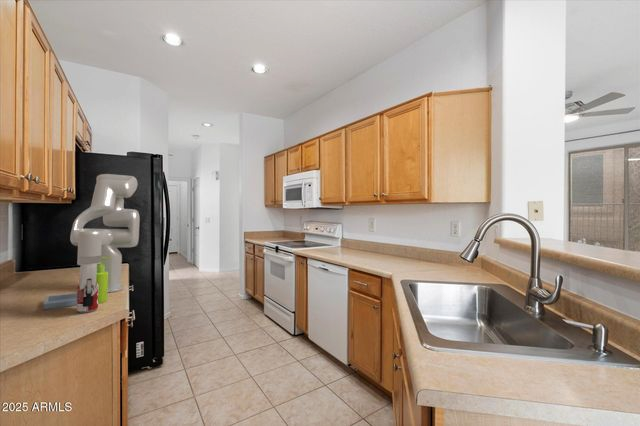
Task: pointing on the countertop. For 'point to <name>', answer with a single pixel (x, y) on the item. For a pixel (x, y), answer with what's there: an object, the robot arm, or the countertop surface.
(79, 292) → the soda can
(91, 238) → the robot arm
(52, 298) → the slate tray
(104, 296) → the soap dispenser
